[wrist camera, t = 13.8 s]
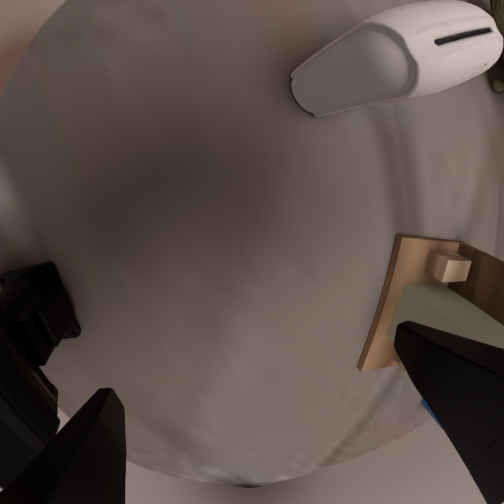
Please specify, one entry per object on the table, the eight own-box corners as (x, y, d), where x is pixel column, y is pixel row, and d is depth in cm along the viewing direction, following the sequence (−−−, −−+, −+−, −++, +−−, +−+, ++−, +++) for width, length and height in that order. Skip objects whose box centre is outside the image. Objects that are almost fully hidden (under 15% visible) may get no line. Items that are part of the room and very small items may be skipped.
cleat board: (357, 367, 27) (406, 436, 17) (396, 234, 22) (484, 281, 13) (423, 353, 29) (472, 404, 19) (462, 241, 24) (533, 277, 15)
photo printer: (380, 35, 16) (494, -9, 5) (404, 79, 18) (528, 61, 7) (277, 74, 17) (381, -8, 5) (309, 126, 18) (444, 108, 7)
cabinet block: (386, 336, 25) (465, 422, 13) (404, 284, 23) (503, 362, 12) (424, 330, 26) (499, 400, 14) (441, 283, 24) (530, 346, 13)
